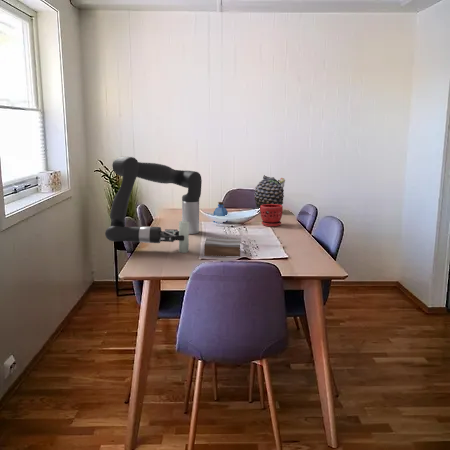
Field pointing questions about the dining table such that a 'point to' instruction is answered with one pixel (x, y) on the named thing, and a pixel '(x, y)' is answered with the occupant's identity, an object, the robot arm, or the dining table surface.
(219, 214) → the perfume bottle
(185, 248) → the pale green cylinder
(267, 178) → the round potted cactus
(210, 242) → the stand
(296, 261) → the dining table surface
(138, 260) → the dining table surface
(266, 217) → the plant pot
